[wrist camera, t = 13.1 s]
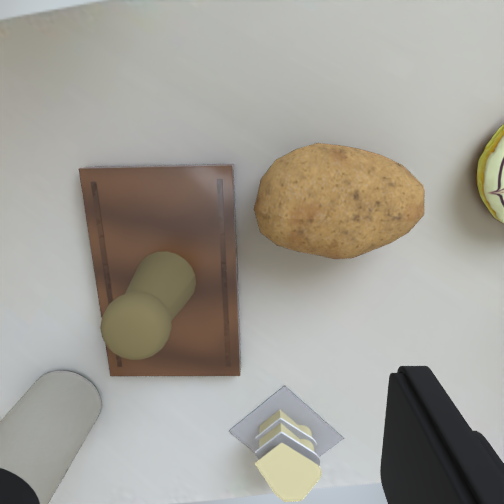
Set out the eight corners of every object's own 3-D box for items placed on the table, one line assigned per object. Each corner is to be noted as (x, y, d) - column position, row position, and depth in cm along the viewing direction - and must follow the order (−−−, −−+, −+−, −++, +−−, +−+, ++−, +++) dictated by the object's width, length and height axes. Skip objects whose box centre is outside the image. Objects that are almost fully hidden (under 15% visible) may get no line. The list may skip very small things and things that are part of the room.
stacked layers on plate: (228, 430, 46) (224, 470, 41) (284, 385, 44) (287, 420, 39) (287, 479, 48) (290, 522, 43) (343, 438, 46) (354, 478, 41)
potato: (399, 243, 39) (432, 271, 31) (255, 243, 39) (253, 272, 32) (410, 139, 36) (449, 143, 28) (254, 141, 36) (252, 146, 29)
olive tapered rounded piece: (134, 305, 40) (88, 368, 29) (135, 248, 38) (86, 294, 28) (194, 311, 40) (169, 377, 29) (198, 254, 38) (172, 303, 28)
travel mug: (20, 379, 45) (-131, 537, 28) (83, 360, 44) (-34, 511, 27) (54, 434, 47) (-67, 610, 30) (114, 416, 46) (24, 589, 29)
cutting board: (85, 166, 37) (78, 168, 36) (233, 163, 37) (232, 165, 35) (115, 368, 44) (110, 376, 43) (240, 367, 44) (240, 376, 42)
